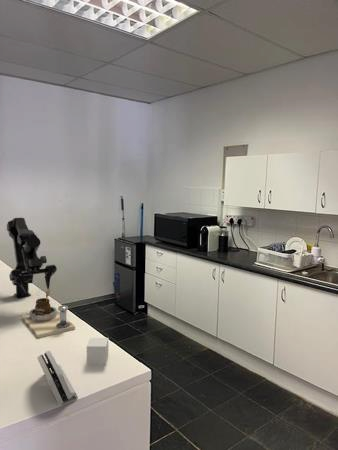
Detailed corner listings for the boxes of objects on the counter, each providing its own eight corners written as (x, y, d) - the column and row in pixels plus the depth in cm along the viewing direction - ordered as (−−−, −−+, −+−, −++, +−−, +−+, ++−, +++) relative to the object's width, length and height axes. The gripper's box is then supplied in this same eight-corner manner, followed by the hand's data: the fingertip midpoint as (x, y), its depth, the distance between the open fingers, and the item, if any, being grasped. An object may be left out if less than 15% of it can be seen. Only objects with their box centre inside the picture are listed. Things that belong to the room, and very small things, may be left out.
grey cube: (90, 355, 110) (90, 337, 110) (108, 355, 111) (108, 337, 110) (86, 364, 105) (86, 346, 104) (106, 364, 105) (106, 346, 104)
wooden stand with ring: (21, 318, 138) (21, 298, 137) (55, 311, 147) (55, 292, 146) (37, 338, 121) (37, 315, 120) (74, 329, 130) (74, 307, 129)
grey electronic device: (78, 399, 88) (65, 368, 85) (61, 410, 85) (47, 379, 82) (61, 369, 102) (49, 341, 99) (46, 378, 99) (33, 350, 97)
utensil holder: (43, 312, 142) (42, 285, 141) (54, 315, 139) (54, 287, 138) (31, 317, 137) (31, 288, 136) (43, 320, 134) (43, 291, 133)
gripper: (11, 252, 138) (17, 287, 132) (56, 247, 149) (64, 280, 144) (6, 263, 146) (12, 297, 140) (49, 258, 157) (57, 289, 152)
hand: (37, 290), depth 144 cm, fingers open, 9 cm apart
